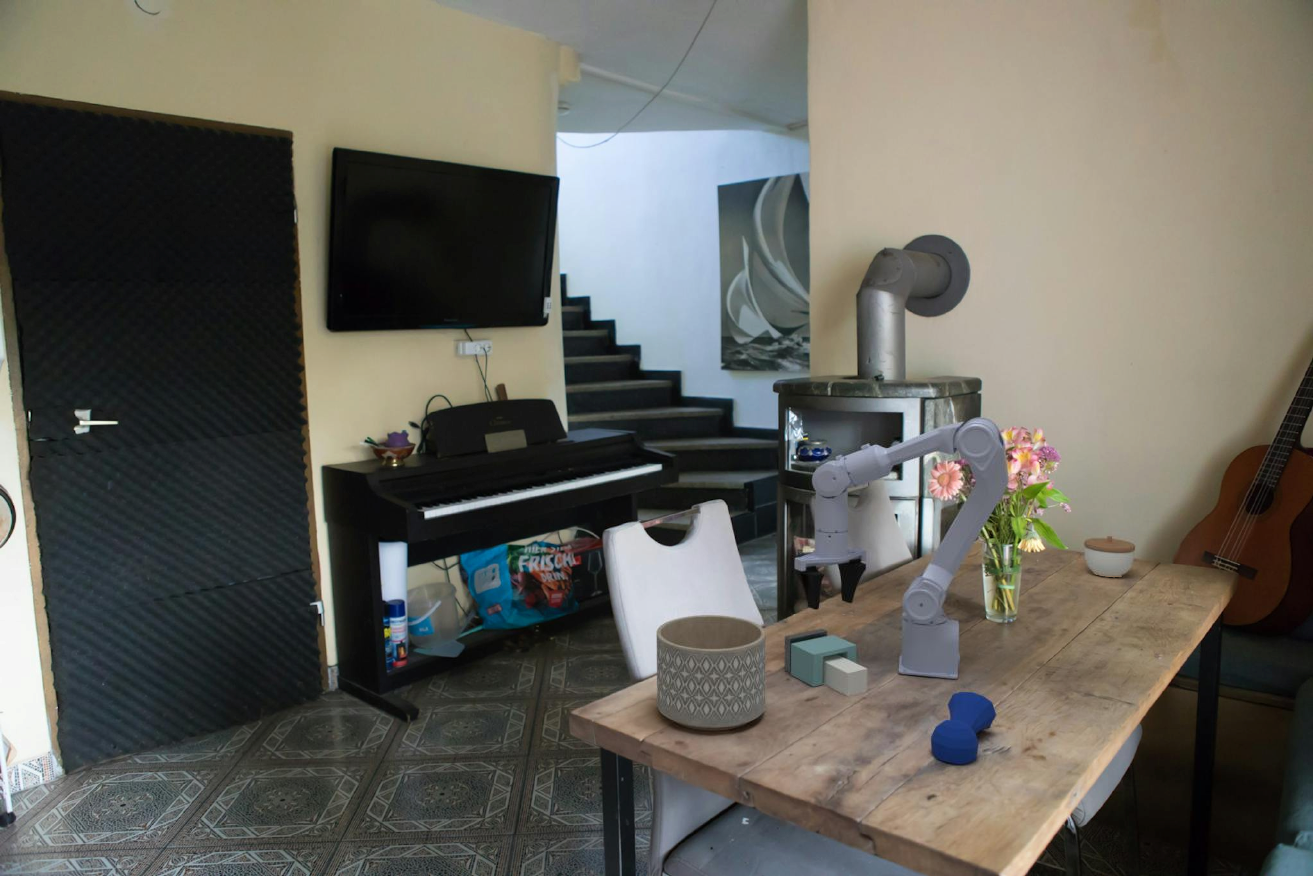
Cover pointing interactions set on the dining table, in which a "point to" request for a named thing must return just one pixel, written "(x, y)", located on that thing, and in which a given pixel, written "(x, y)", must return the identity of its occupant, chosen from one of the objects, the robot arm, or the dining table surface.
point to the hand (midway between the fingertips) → (830, 604)
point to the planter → (711, 671)
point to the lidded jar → (1109, 555)
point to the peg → (844, 675)
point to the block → (818, 657)
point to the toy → (962, 728)
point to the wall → (799, 638)
